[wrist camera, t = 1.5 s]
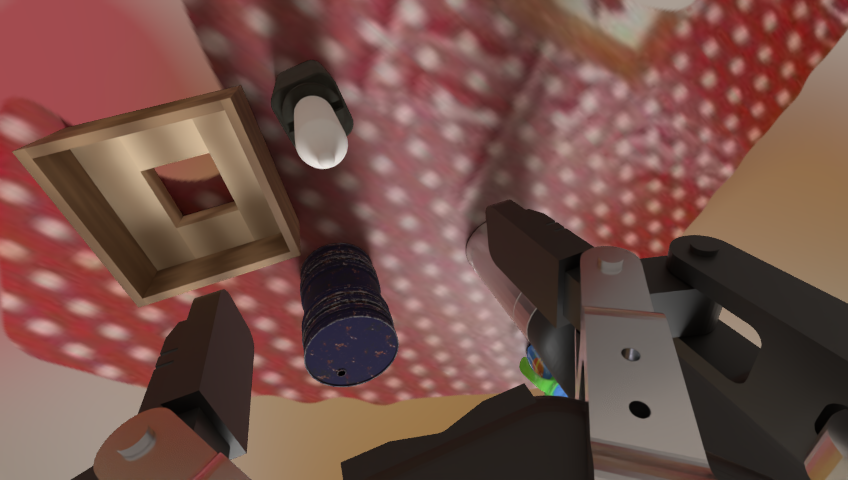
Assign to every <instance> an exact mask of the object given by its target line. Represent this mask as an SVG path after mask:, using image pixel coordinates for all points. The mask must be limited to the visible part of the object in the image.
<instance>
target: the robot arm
mask: <svg viewBox="0 0 848 480" xmlns="http://www.w3.org/2000/svg"><path fill="white" fill-rule="evenodd" d="M466 256H467V259H468V262H469V263H470V265H471V266H472V267H473V269H474V270H475V272H476V273H477V274H478V275H479V277H480V278H481V279H482V281H483V282H484V283H485V285H486V286H487V287H488V288H489V290H490V291H491V292H492V294H493V295H494V296H495V298H496V299H497V300H498V302H499V303H500V304H501V305H502V307H503V308H504V309H505V311H506V312H507V313H508V315H509V316H510V317H511V319H512V320H513V321H514V322H515V324H516V325H517V326H518V328H519V329H520V330H521V332H522V333H523V334H524V336H525V337H526V338H527V339H528V341H529V342H530V344H531V345H532V346H533V347H534V349H535V350H536V352H537V353H538V355H539V356H540V358H541V359H542V361H543V362H544V364H545V365H546V367H547V368H548V370H549V371H550V373H551V374H552V376H553V377H554V379H555V380H556V381H557V383H558V384H559V385H560V387H561V388H562V389H563V391H564V392H565V393H566V395H567V396H568V397H564V396H552V395H547V396H533V395H532V394H531V392H530V391H529V389H528V388H527V387H526V385H525V384H522V385H519V386H517V387H515V388H512V389H510V390H508V391H506V392H503V393H501V394H499V395H496V396H494V397H492V398H489V399H487V400H485V401H483V402H481V403H480V404H479V405H477V406H476V407H475V408H474V409H472V410H471V411H470V412H468V413H467V414H466V415H465V416H463V417H462V418H461V419H460V420H458V421H457V422H456V423H454V424H453V425H452V426H450V427H449V428H448V429H447V430H445V431H444V432H441V433H438V434H432V435H427V436H421V437H414V438H408V439H402V440H397V441H390V442H387V443H385V444H383V445H381V446H378V447H376V448H374V449H371V450H369V451H367V452H364V453H362V454H360V455H358V456H355V457H353V458H350V459H348V460H346V461H343V462H341V468H342V475H343V480H848V303H845V302H843V301H842V300H840V299H838V298H836V297H833V296H831V295H830V294H828V293H826V292H824V291H821V290H820V289H818V288H816V287H814V286H812V285H810V284H808V283H806V282H804V281H802V280H800V279H798V278H796V277H794V276H792V275H790V274H788V273H786V272H784V271H782V270H780V269H778V268H776V267H774V266H772V265H770V264H768V263H766V262H764V261H762V260H760V259H758V258H756V257H754V256H752V255H750V254H748V253H746V252H744V251H742V250H740V249H738V248H736V247H734V246H732V245H730V244H728V243H726V242H724V241H722V240H719V239H716V238H712V237H707V236H700V235H690V236H682V237H679V238H676V239H675V240H673V241H672V242H671V244H670V247H669V251H668V256H660V257H652V258H643V259H639V258H638V257H637V256H636V255H635V254H634V253H632V252H630V251H628V250H625V249H622V248H619V247H613V246H600V247H593V246H592V245H590V244H589V243H587V242H586V241H584V240H583V239H581V238H580V237H578V236H577V235H575V234H574V233H572V232H571V231H569V230H568V229H564V227H563V226H562V225H560V224H559V223H557V222H556V223H555V221H554V220H553V219H551V218H550V217H548V216H547V215H545V214H544V213H540V212H537V211H534V210H530V209H527V210H525V209H523V208H522V207H520V206H519V205H518V204H516V203H515V202H513V201H512V200H506V201H503V202H500V203H497V204H493V205H490V206H488V207H487V208H486V223H484V224H482V225H481V226H480V227H478V228H477V229H476V231H475V232H474V233H473V234H472V236H471V237H470V239H469V241H468V244H467V249H466ZM722 307H724V308H725V309H727V310H728V311H730V312H731V313H733V314H734V315H736V316H737V317H739V318H740V319H742V320H743V321H745V322H746V323H748V324H749V325H751V326H752V327H753V328H754V329H755V330H756V331H757V333H758V334H759V336H760V339H761V343H762V346H761V348H759V347H758V346H756V345H755V344H753V343H752V342H751V341H749V340H748V339H746V338H745V337H743V336H742V335H740V334H739V333H738V332H736V331H735V330H733V329H732V328H730V327H729V326H728V325H726V324H725V323H723V322H722V321H720V320H719V319H718V318H719V315H720V312H721V310H722ZM160 354H161V356H160V357H159V358H158V361H157V363H156V366H155V367H156V369H155V370H154V372H153V374H152V377H151V380H150V382H149V385H148V388H147V391H146V393H145V396H144V399H143V402H142V405H141V407H140V410H139V412H138V414H137V415H135V416H134V417H132V418H130V419H129V420H127V421H126V422H125V423H123V424H122V425H121V426H120V427H118V428H117V429H116V430H115V431H114V432H113V433H112V434H111V435H110V436H109V437H108V438H107V439H106V440H105V442H104V443H103V444H102V446H101V447H100V449H99V451H98V452H97V454H96V457H95V460H94V464H93V466H92V467H91V468H89V469H88V470H86V471H84V472H83V473H81V474H79V475H78V476H76V477H75V478H73V479H71V480H251V479H250V478H249V477H248V476H247V475H246V474H245V473H244V472H242V471H241V470H240V469H239V468H238V467H237V466H236V465H235V464H234V463H232V462H231V461H230V460H232V459H234V458H237V457H239V456H241V455H244V454H246V453H247V441H248V428H249V415H250V400H251V387H252V374H253V360H254V343H253V338H252V335H251V332H250V330H249V328H248V326H247V324H246V323H245V321H244V319H243V317H242V315H241V314H240V312H239V310H238V308H237V307H236V305H235V303H234V301H233V300H232V298H231V296H230V294H229V293H228V292H227V291H226V290H224V289H223V290H220V291H217V292H213V293H210V294H207V295H204V296H201V297H198V298H195V299H194V300H193V303H192V306H191V309H190V312H189V315H188V318H187V320H185V321H182V322H179V323H178V324H177V325H176V327H175V328H174V329H173V330H172V331H171V333H170V334H169V335H168V336H167V337H166V339H165V342H164V344H163V347H162V350H161V353H160Z"/></svg>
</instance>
